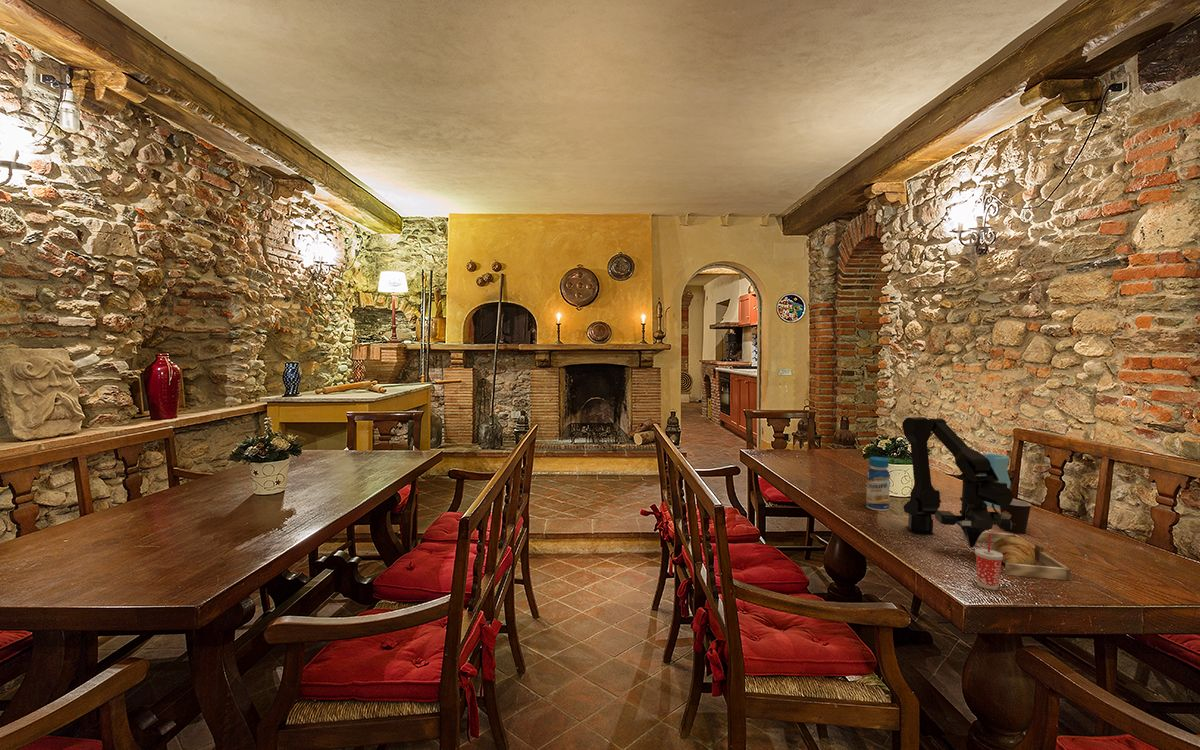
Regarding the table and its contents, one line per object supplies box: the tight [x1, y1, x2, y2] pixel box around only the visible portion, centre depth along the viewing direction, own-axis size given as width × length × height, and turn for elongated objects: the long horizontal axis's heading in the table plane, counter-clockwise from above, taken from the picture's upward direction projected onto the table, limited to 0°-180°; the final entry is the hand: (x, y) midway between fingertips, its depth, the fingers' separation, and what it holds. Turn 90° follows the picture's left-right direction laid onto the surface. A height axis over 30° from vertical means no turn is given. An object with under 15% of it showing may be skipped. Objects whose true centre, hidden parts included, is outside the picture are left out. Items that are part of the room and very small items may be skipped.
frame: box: [963, 531, 1072, 581], centre depth 158 cm, size 15×28×4 cm, turn 166°
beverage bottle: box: [865, 456, 891, 512], centre depth 206 cm, size 8×8×20 cm
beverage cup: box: [974, 534, 1003, 591], centre depth 139 cm, size 6×6×14 cm
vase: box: [977, 453, 1012, 509], centre depth 212 cm, size 8×8×20 cm
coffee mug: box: [991, 498, 1032, 535], centre depth 183 cm, size 12×9×10 cm
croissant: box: [991, 537, 1036, 565], centre depth 157 cm, size 21×10×8 cm, turn 140°
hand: (971, 546), depth 161 cm, fingers closed
